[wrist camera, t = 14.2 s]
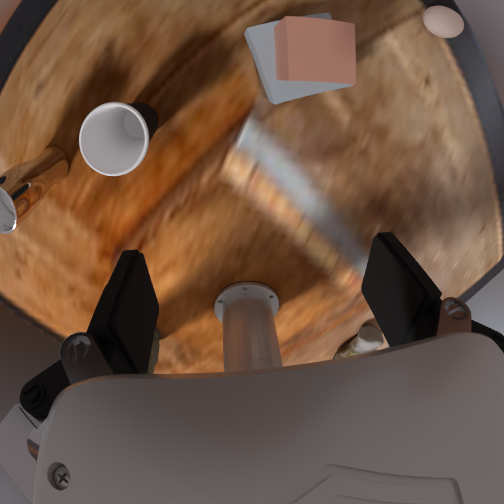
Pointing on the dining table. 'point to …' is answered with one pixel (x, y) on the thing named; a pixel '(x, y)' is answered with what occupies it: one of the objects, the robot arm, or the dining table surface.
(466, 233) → the dining table surface
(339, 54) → the rust cube
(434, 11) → the egg
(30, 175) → the beer glass
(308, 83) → the slate block
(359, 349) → the ceramic sculpture
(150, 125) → the dixie cup
